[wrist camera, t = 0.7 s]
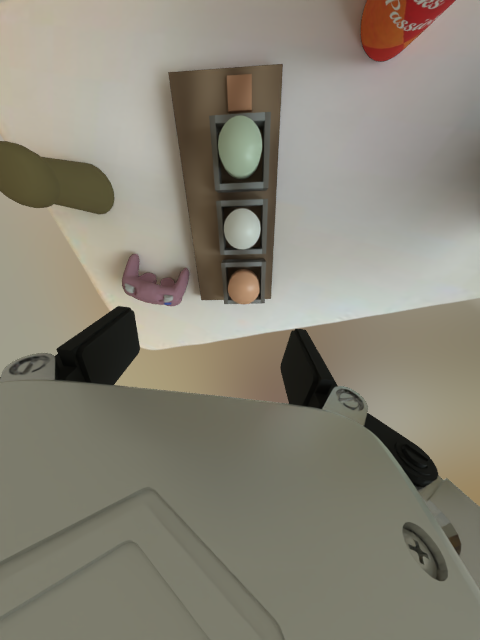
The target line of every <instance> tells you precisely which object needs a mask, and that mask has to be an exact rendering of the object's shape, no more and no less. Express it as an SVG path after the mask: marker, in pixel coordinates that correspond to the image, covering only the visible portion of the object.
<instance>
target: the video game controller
mask: <svg viewBox="0 0 480 640" xmlns="http://www.w3.org/2000/svg"><path fill="white" fill-rule="evenodd" d="M138 270H139V256H138V255H137V254H132V255H131V256H130V257H129V259H128V262H127V265H126V268H125V271H124V274H123V278H122V287H123V289H124V291H125V293H126V294H128V295H130V296H132V297H134V298H136V299H138V300H141V301H144V302H147V303H152V304H159V305H167V306H176V305H178V304H180V302H181V301H182V296H183V295H184V292H185V290H186V287H187V284H188V279H189V270H188V269H187V268H184V269H183V270H182V271H181V273H180V275H179V278H178V280H177V282H176V283H174V280H173V279H171V278H164V279H162V280H161V285H158V284H156V282H157V280H156V276H155V275H154V274H153V273H145V274H143V275H141V276H139V275H138Z"/></svg>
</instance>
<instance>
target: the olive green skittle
mask: <svg viewBox="0 0 480 640" xmlns="http://www.w3.org/2000/svg"><path fill="white" fill-rule="evenodd" d="M0 191H1V192H2V193H3V194H4V195H6V196H7V197H8V198H10V199H12V200H14V201H15V202H17V203H19V204H22V205H25V206H29V207H34V208H44V207H49V206H52V205H53V204H56V205H61V206H65V207H70V208H74V209H78V210H83V211H87V212H92V213H96V214H105V213H107V212H108V211H110V209H111V208H112V206H113V203H114V191H113V188H112V186H111V183H110V181H109V180H108V178H107V177H106V175H105V174H104V173H103V172H102V171H101V170H100V169H98V168H97V167H95V166H93V165H91V164H87V163H82V162H74V161H67V160H60V159H52V158H45V157H40V156H39V155H38V154H36V153H34V152H33V151H31V150H29V149H27V148H26V147H24V146H21V145H19V144H15V143H11V142H7V141H0Z"/></svg>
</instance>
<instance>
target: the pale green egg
mask: <svg viewBox="0 0 480 640" xmlns="http://www.w3.org/2000/svg"><path fill="white" fill-rule="evenodd" d="M218 150H219V155H220V158H221V161H222V163H223V165H224V168H225V170H226V171H227V172H228V174H229V175H230V176H232V177H233V178H235V179H246V178H248V177H250V176H251V175H252V174H253V173H254V172H255V171H256V169H257V167H258V164H259V161H260V156H261V152H262V138H261V134H260V131H259V129H258V127H257V125H256V124H255V123H254V121H252V120H251V119H250V118H248V117H246V116H235V117H232V118H231V119H229V120H228V121H227V122H226V123H225V124H224V126H223V128H222V129H221V132H220V135H219V140H218Z"/></svg>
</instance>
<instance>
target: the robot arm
mask: <svg viewBox="0 0 480 640" xmlns="http://www.w3.org/2000/svg"><path fill="white" fill-rule="evenodd" d="M139 350H140V346H139V340H138V333H137V327H136V321H135V314H134V311H133V310H131V308H129V307H121V306H118V307H116V308H115V309H113V310H112V311H110V312H109V313H108V314H106V315H105V316H103V317H102V318H100V319H99V320H98V321H96V322H95V323H93V324H92V325H90V326H89V327H87V328H86V329H85V330H83V331H82V332H80V333H79V334H77V335H76V336H74V337H73V338H72V339H70V340H69V341H67V342H66V343H64V344H63V345H61V346H60V347H59V348H57V352H58V354H57V355H56V356H54V355H52V354H48V353H38V354H32V355H28V356H25V357H22V358H20V359H17V360H15V361H14V362H12V363H10V364H9V365H8V366H6V367H5V369H4V370H3V372H2V375H1V377H0V640H480V507H479V506H478V505H477V504H476V503H474V502H473V501H472V500H471V499H470V498H469V497H467V495H465V494H464V493H463V492H462V491H461V490H460V489H459V488H457V487H456V486H455V485H454V484H453V483H452V482H451V481H449V480H448V479H447V478H446V479H445V480H443V479H442V478H441V477H440V476H438V472H437V468H436V466H435V465H434V463H433V461H432V460H431V459H430V457H429V456H428V455H427V454H426V453H425V452H424V451H423V450H422V449H420V448H419V447H418V446H417V445H415V444H414V443H412V442H411V441H409V440H408V439H406V438H405V437H403V436H402V435H400V434H399V433H397V432H396V431H394V430H393V429H391V428H390V427H388V426H387V425H385V424H384V423H382V422H381V421H379V420H378V419H376V418H375V417H373V416H372V415H370V414H368V413H367V412H368V406H367V403H366V401H365V400H364V399H363V397H362V396H360V395H359V394H358V393H357V392H355V391H354V390H352V389H350V388H348V387H344V386H337V384H336V382H335V381H334V379H333V377H332V375H331V373H330V372H329V370H328V368H327V366H326V364H325V363H324V361H323V359H322V357H321V356H320V354H319V352H318V351H317V349H316V347H315V345H314V343H313V342H312V340H311V338H310V336H309V335H308V333H307V331H306V330H303V329H295V330H294V331H292V332H291V334H290V338H289V341H288V344H287V347H286V350H285V353H284V356H283V359H282V363H281V373H282V377H283V381H284V385H285V389H286V393H287V397H288V401H289V404H285V403H276V402H267V401H259V400H250V399H241V398H232V397H223V396H214V395H204V394H195V393H185V392H176V391H166V390H157V389H147V388H137V387H127V386H116V385H114V384H115V383H116V381H117V380H118V379H119V377H120V376H121V375H122V374H123V372H124V371H125V370H126V369H127V367H128V366H129V365H130V364H131V362H132V361H133V359H134V358H135V357H136V356H137V355H138V353H139Z"/></svg>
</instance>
